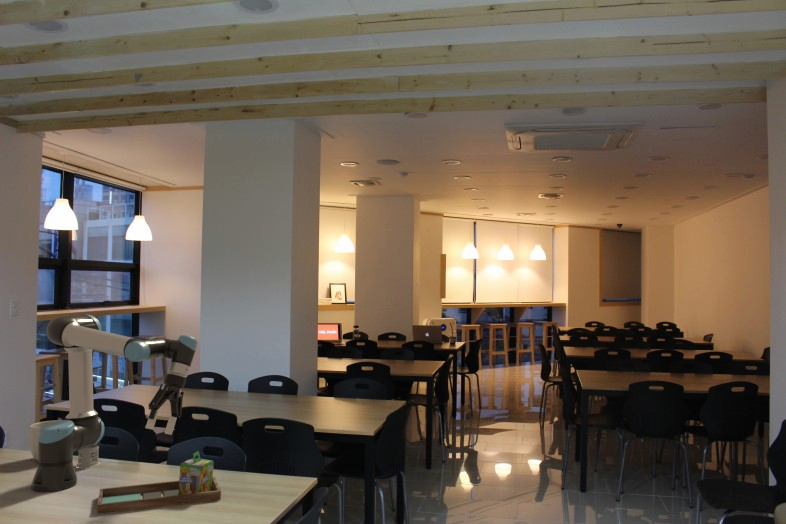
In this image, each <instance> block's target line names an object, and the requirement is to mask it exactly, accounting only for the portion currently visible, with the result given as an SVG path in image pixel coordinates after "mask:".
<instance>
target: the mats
mask: <svg viewBox="0 0 786 524" xmlns="http://www.w3.org/2000/svg"><path fill="white" fill-rule="evenodd" d="M178 492H179V489H173V490H164V491H163V496H162V491H155V492H146V493H142V497H143V498H142V499H147V498H156V497H165V496H173V495H178Z"/></svg>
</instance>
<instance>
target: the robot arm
mask: <svg viewBox="0 0 786 524" xmlns="http://www.w3.org/2000/svg"><path fill="white" fill-rule="evenodd" d="M45 331H46V332H45V333H46V337H47V339H48V340H49V341H50V342H51V343H53V344H55V345H59V346H63V349H64V350H65V351H66V352H67V353H68V354H67V355H68V386H69V387H68V388H69V389H68V390H69V393H68V394H69V395H68V396H69V397H68V398H69V413H68V414H67V415H66V416H65V419H61V421H57V422H51V423H48V424H46V425H44V426H43V427H42V428H41V429H40V433H39V438H38V440H39V446H38V460H37V468H36V471H35V474H34V476H33V479H32V481H31V490H32V491H35V492H38V493H39V492H41V493H42V492H43V493H44V492H45V493H47V491H49V492H56V491H55V490H58V491H62V490H61V489H63V490H66V488H67V489H70V488H73V487H74V486H76V485H77V483H78V476H77V472H76V468H75V466H74V464H73V463H74V461H73V460H74V459H73V458H74V453H75V452H78V451H79V450H82V449H85V448H89V447H91V448H92V446H93V445H95V444H99V442H100V441H101V440H102V439H103V437H104V435H105V424H104V422H103V421H102V419H101V418H100V417H99V413H98V412H97V411H96V410H95V409H94V382H93V381H94V379H93V377H94V375H93V351H97V352H100V353H101V352H102V353H105V354H109V355H114V356H118V357H123V358H126V359H127V360H128V361H129V362H132V363H135V362H137V363H139V362H144V361H150V360H156V359H169V360H170V363H169V367H168V370H167V374H166V375H165V379H164V381H163V383H161V384H160V386H159V389H158V390H157V392H156V393H155V395H154V396H153V397H152V399H151V401H150V402H149V404H148V410H150V412H149V415H148V418H147V422H146V425H145V426H144V428H145V429H148V430H154V427H155V425H156V421H157V418H158V416H159V412H160V411H159V409H160V408H161V407H162V406H163V405H164V404H165V403H166V401H169V403H170V413H171V416H169V418H168V421H167V423H166V428H165V431H164V434H165V435H170V436H172V435H173V431H174V430H175V429H174V428H175V427H176V422H177V418H178V419H180V418H181V417H182V411H183V398H184V391H181V389H182V388H185V384H186V382H187V377H188V375H189V372H190V371H191V366H192V362H193V359H194V356H195V353H196V352H197V346H198V342H199V341H198V340H197V338H196V337H193V336H191V335H180V336H179V337H178V338H177V339H170V338H166V337H165V338H164V337H160V336H157V337H156V336H151V337H149V338H148V339H146V340H145V339H144V340H143V339H138V338H134V337H131V336H130V337H129V336H126V335H122V334H121V335H120V334H117V333H112V332H109V331H104V330H102V325H101V323H100V320H99V319H97V318H96V317H95V316H94V315H92V314H85V313H84V314H83V313H81V314H66V315H65V314H64V315H58V316H55V317H54V318H52V319H51V320H50V321H49V322H48V324H47V326H46V330H45Z"/></svg>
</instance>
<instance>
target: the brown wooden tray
mask: <svg viewBox="0 0 786 524" xmlns="http://www.w3.org/2000/svg"><path fill="white" fill-rule="evenodd" d="M212 486H213V487H212V491H208V492H200V493H191V494H182V495H173V496H165V497H164V496H162V497H156V498H147V499H143V498H141V499H139V500H130V501H121V502H112V503H104V504H102V498H103V497H110V496H119V495H128V494H137V493H140V495H143V493H146V492H155V491H161V492H164V490H173V489H179V480H172V481H162V482H153V483H144V484H133V485H124V486H114V487H105V488H100V489H99V493H98V498H97V507H96V515H104V514H110V513H119V512H128V511H129V512H130V511H136V510H137V511H138V510H144V509H151V508H159V507H170V506H177V505H178V506H180V505H185V504H193V503H194V504H195V503H201V502H211V501H219V499H220V500H221V498H222V496H221V495H222V491H221V489H220V488H221V487H220V486H219V483H218V481H217V478H216V477H215V476H213V478H212ZM101 513H102V514H101ZM103 513H104V514H103Z"/></svg>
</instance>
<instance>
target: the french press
mask: <svg viewBox="0 0 786 524" xmlns="http://www.w3.org/2000/svg"><path fill="white" fill-rule="evenodd" d="M99 448H100V445H99V443H97V444H95V445H93V446H91V447H89V448H85V449H82V450H79V451H77V452H78V455H77V457H78V458H77V464H76V465H75V466H77V467H79V468H89V469H91V468H90V467H94V466H98V465H99V464H101V463H100V461H99V453H100V452H99V450H100V449H99ZM98 467H99V466H98Z"/></svg>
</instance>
